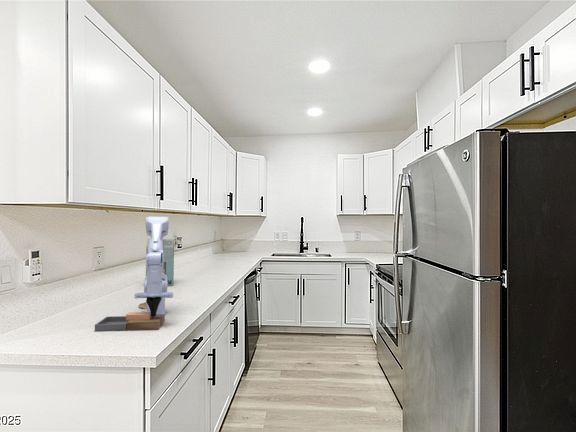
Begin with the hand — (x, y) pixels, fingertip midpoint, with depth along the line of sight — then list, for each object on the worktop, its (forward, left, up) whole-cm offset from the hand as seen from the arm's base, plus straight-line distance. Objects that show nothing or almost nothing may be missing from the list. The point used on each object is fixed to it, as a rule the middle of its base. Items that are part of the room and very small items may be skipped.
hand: (153, 316), depth 144 cm
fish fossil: (-42, -9, -4) cm, 43 cm away
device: (-94, -19, -4) cm, 96 cm away
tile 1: (0, -8, -1) cm, 8 cm away
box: (0, -14, -4) cm, 15 cm away
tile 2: (0, -3, -1) cm, 3 cm away
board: (0, -3, -4) cm, 5 cm away
